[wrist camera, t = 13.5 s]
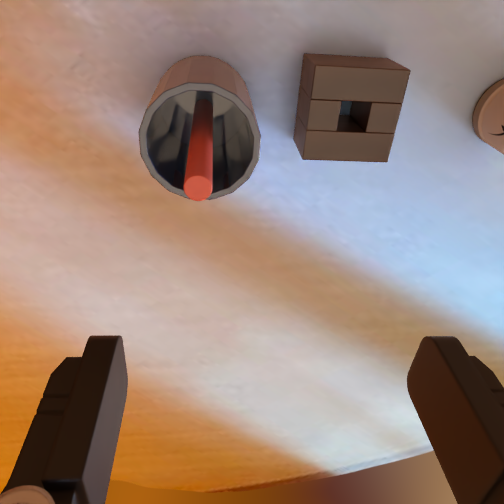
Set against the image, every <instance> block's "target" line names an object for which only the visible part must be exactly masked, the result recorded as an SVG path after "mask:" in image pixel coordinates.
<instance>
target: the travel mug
mask: <svg viewBox="0 0 504 504" xmlns="http://www.w3.org/2000/svg"><path fill="white" fill-rule="evenodd" d="M473 127H474V131H475V133H476V135H477V136H478V137H479V138H480V139H481V140H482V141H484V142H486V143H487V144H489V145H490V146H492V147H493V148H495V149H496V150H498V151H499V152H501V153H502V154H504V79H502V80H500V81H499V82H497V83H495V84H494V85H493V86H491V87H490V88H489V89H488V90H487V91H486V92H485V93H484V94H483V96H482V97H481V98H480V100H479V102H478V104H477V106H476V108H475V111H474V115H473Z"/></svg>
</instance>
